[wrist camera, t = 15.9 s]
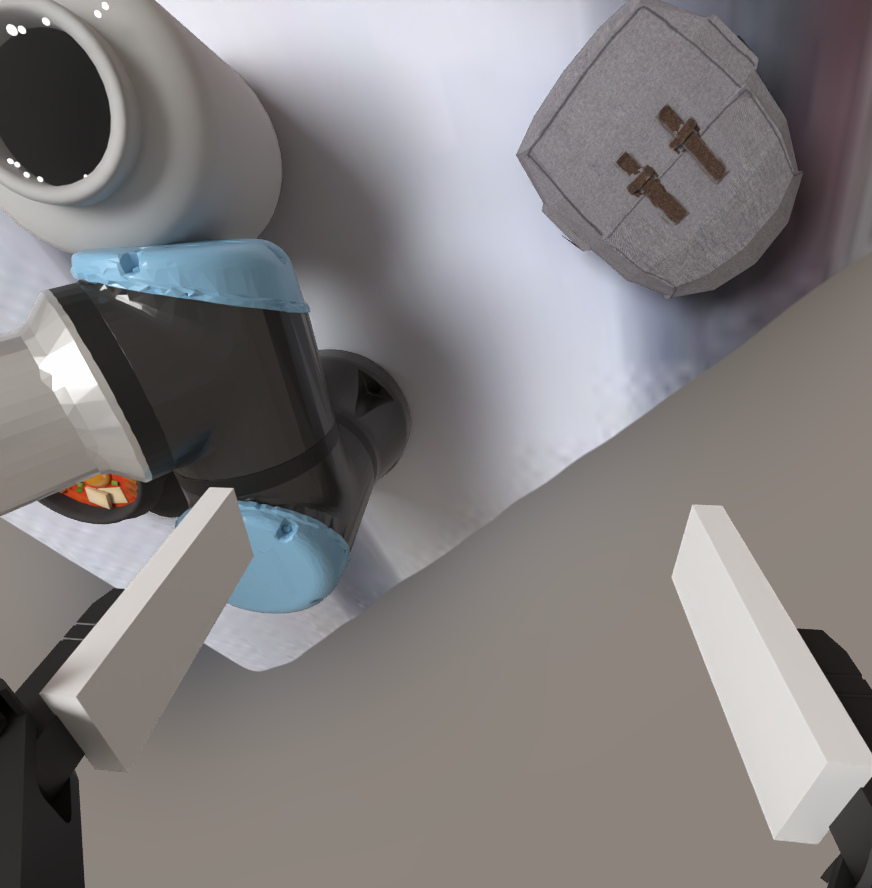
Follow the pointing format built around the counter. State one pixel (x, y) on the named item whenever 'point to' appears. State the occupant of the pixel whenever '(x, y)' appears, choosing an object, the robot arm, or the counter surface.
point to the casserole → (118, 499)
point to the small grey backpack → (664, 151)
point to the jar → (127, 129)
